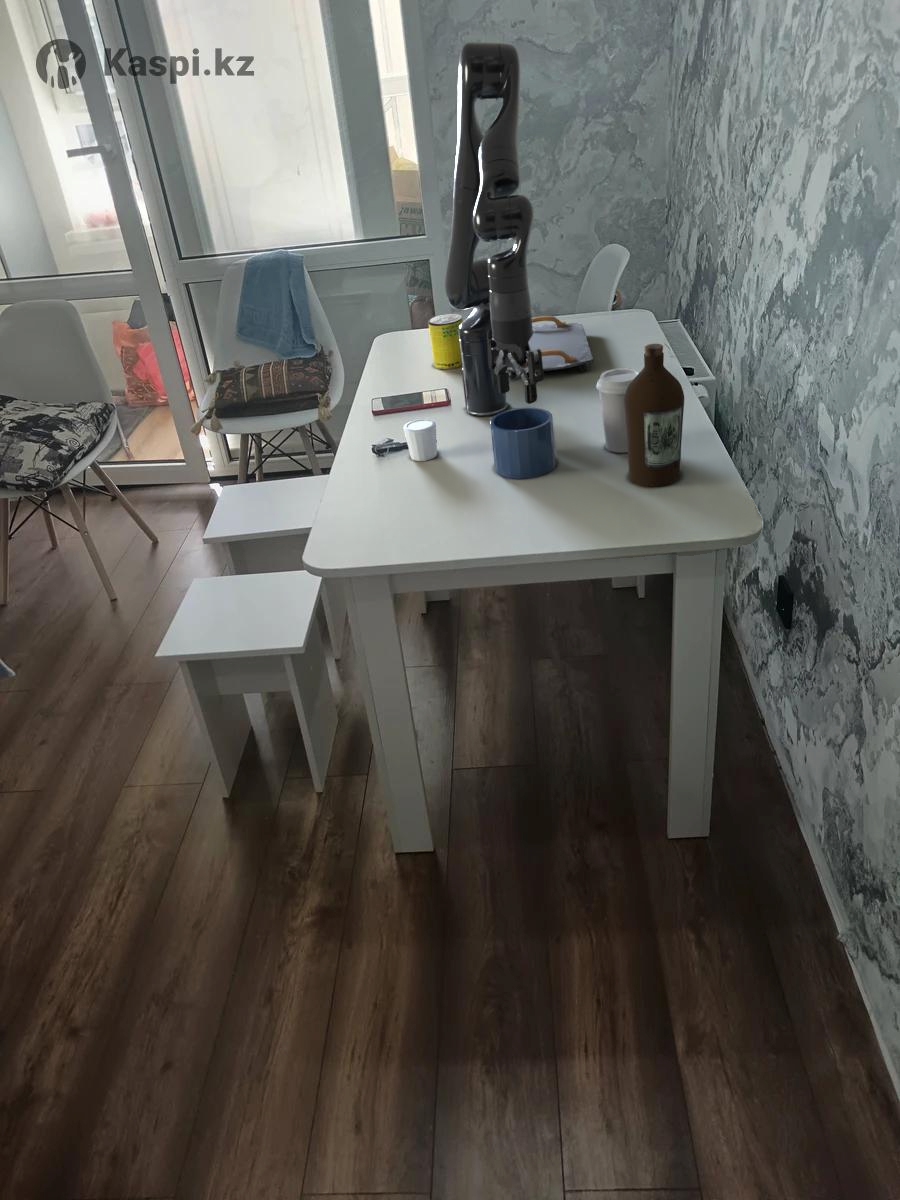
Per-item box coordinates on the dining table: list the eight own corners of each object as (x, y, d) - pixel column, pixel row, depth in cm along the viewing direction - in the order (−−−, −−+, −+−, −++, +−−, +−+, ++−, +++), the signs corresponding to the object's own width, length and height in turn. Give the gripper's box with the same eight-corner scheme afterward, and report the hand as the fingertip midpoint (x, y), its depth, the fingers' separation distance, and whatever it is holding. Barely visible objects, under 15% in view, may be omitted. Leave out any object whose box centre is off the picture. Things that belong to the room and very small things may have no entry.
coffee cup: (649, 437, 188) (648, 366, 180) (642, 456, 181) (641, 383, 173) (603, 436, 191) (600, 367, 183) (594, 455, 184) (591, 383, 176)
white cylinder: (416, 465, 191) (411, 433, 187) (402, 455, 196) (397, 424, 192) (445, 455, 193) (441, 424, 189) (431, 446, 198) (426, 415, 195)
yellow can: (473, 359, 246) (468, 314, 240) (455, 370, 240) (450, 324, 234) (445, 357, 251) (439, 313, 245) (427, 367, 245) (421, 323, 239)
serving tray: (596, 374, 224) (595, 350, 220) (502, 385, 226) (500, 360, 223) (582, 330, 256) (581, 307, 253) (500, 339, 259) (498, 317, 255)
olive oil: (617, 471, 176) (613, 344, 163) (668, 460, 178) (669, 333, 164) (639, 493, 167) (637, 360, 154) (693, 481, 169) (695, 348, 155)
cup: (483, 467, 186) (477, 421, 180) (529, 448, 191) (526, 402, 186) (519, 484, 177) (515, 436, 171) (568, 464, 182) (565, 416, 177)
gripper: (551, 314, 164) (556, 400, 173) (504, 302, 174) (510, 383, 183) (518, 325, 161) (524, 412, 169) (472, 312, 171) (480, 394, 180)
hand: (517, 397), depth 176 cm, fingers open, 8 cm apart
